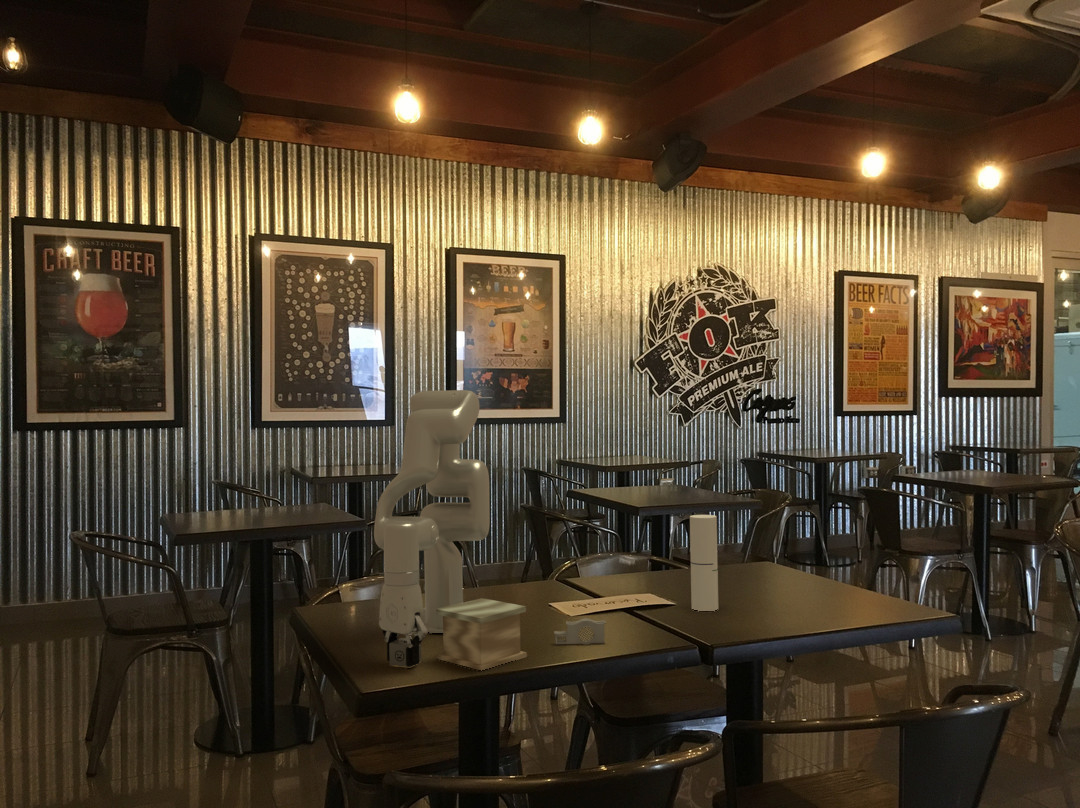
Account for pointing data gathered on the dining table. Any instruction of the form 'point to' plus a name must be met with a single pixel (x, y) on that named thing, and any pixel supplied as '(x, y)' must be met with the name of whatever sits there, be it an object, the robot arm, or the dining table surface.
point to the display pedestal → (481, 633)
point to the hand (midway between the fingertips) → (403, 661)
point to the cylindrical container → (704, 562)
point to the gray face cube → (399, 652)
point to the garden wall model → (575, 628)
